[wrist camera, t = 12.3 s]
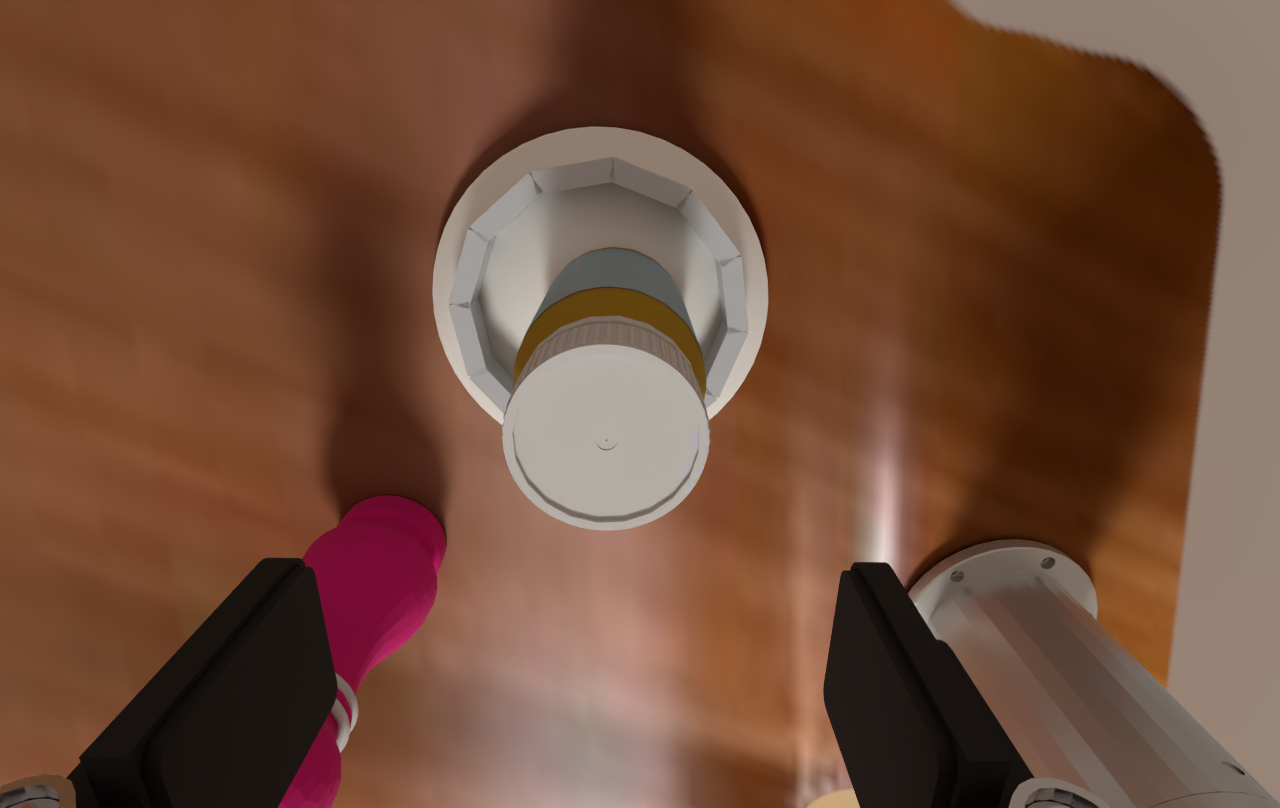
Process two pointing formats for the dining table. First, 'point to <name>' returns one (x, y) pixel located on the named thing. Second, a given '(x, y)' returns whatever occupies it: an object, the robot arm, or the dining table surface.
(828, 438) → the dining table surface
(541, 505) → the bottle
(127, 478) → the dining table surface
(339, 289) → the dining table surface
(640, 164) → the collar base
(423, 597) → the pepper mill
